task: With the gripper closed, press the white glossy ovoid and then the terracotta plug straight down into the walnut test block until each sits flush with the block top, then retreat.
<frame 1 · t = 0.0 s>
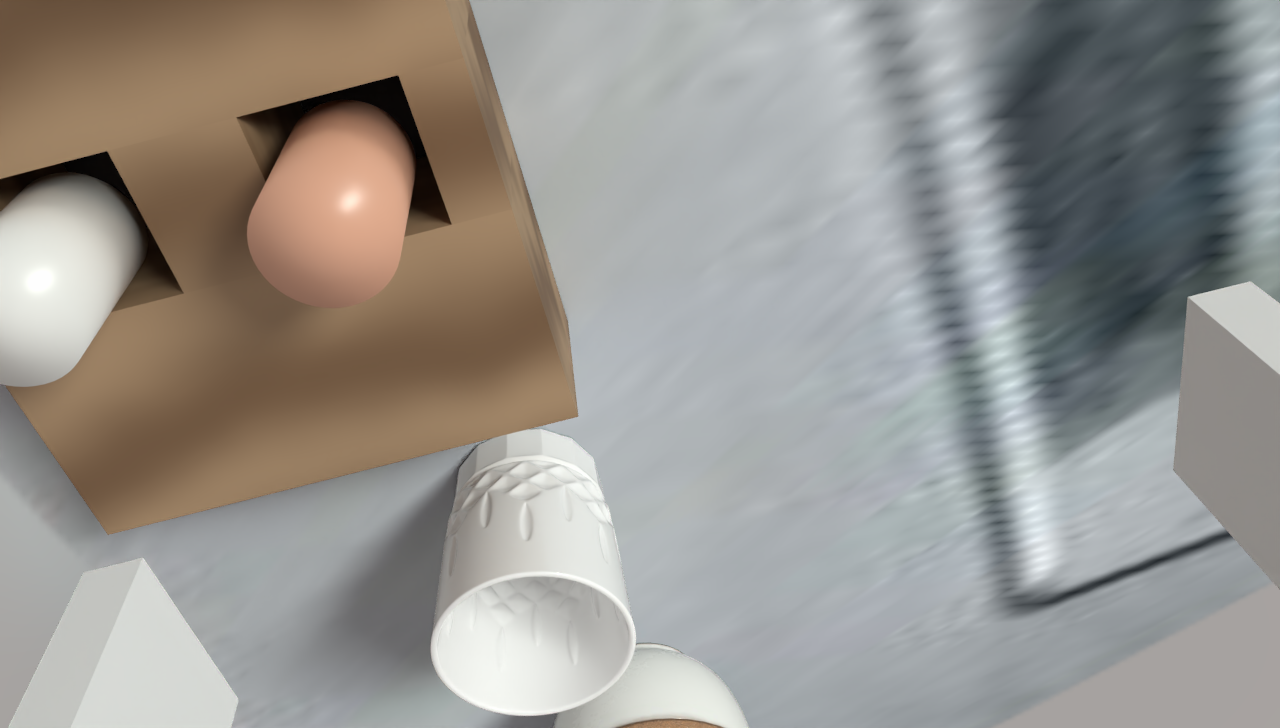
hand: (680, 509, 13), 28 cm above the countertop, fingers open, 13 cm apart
walnut block: (254, 132, 38), on the countertop
white cup: (528, 482, 48), on the countertop
terracotta plug: (339, 198, 30), point 9 cm above the countertop, slide at 0.0 cm
lidded jar: (639, 679, 56), on the countertop
white glossy ovoid: (46, 274, 30), point 9 cm above the countertop, slide at 0.0 cm
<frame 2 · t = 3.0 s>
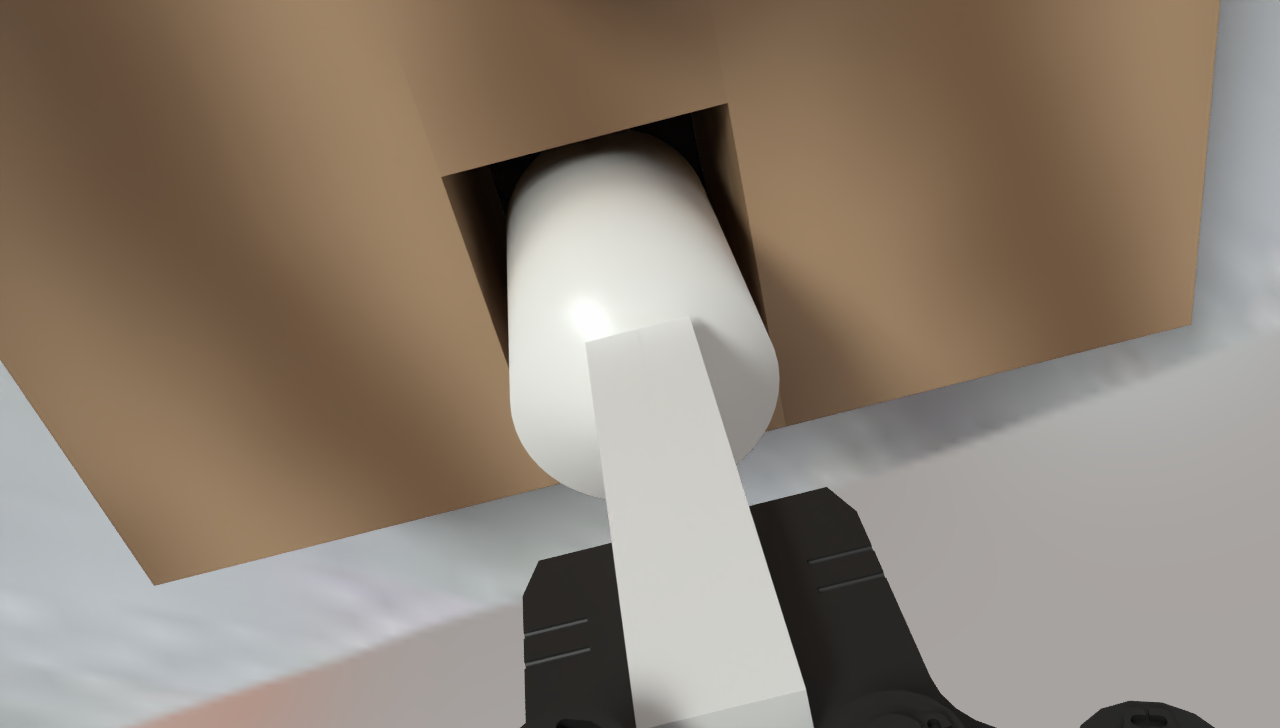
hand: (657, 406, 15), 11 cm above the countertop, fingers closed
white glossy ovoid: (624, 299, 18), point 8 cm above the countertop, slide at 0.8 cm, touching gripper
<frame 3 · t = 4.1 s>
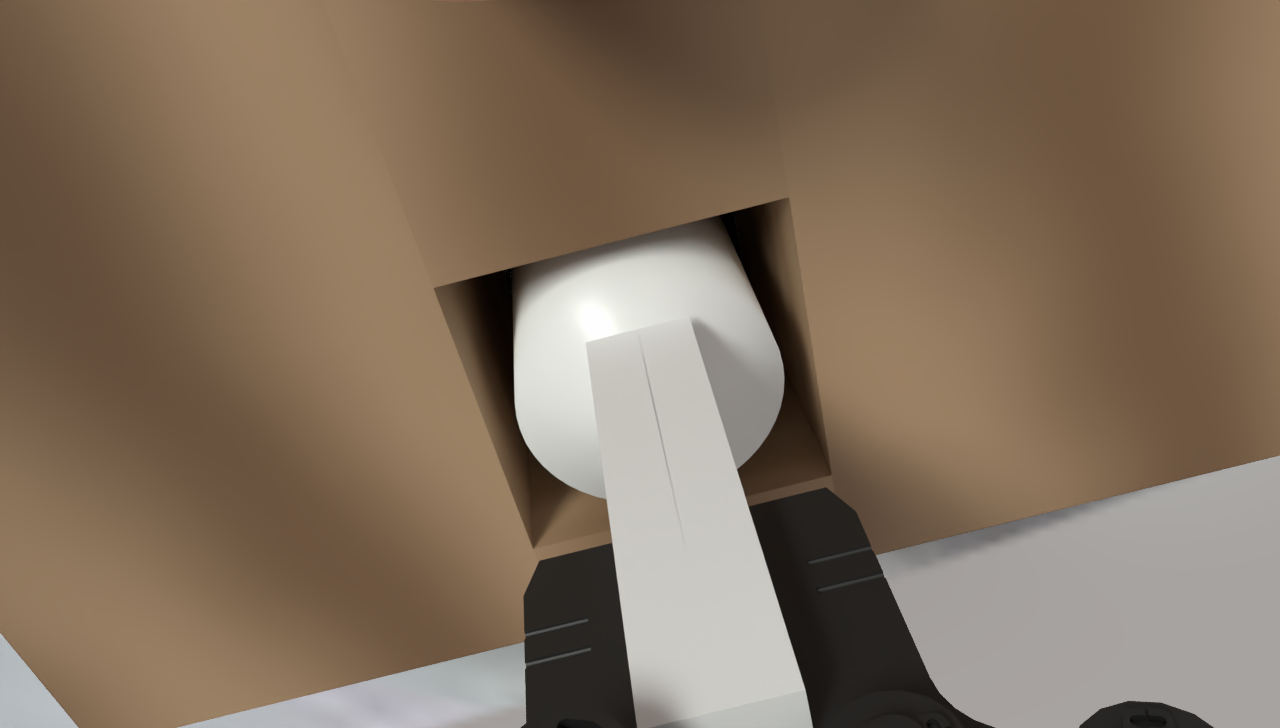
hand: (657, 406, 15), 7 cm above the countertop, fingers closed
white glossy ovoid: (629, 300, 18), point 4 cm above the countertop, slide at 4.8 cm, touching gripper
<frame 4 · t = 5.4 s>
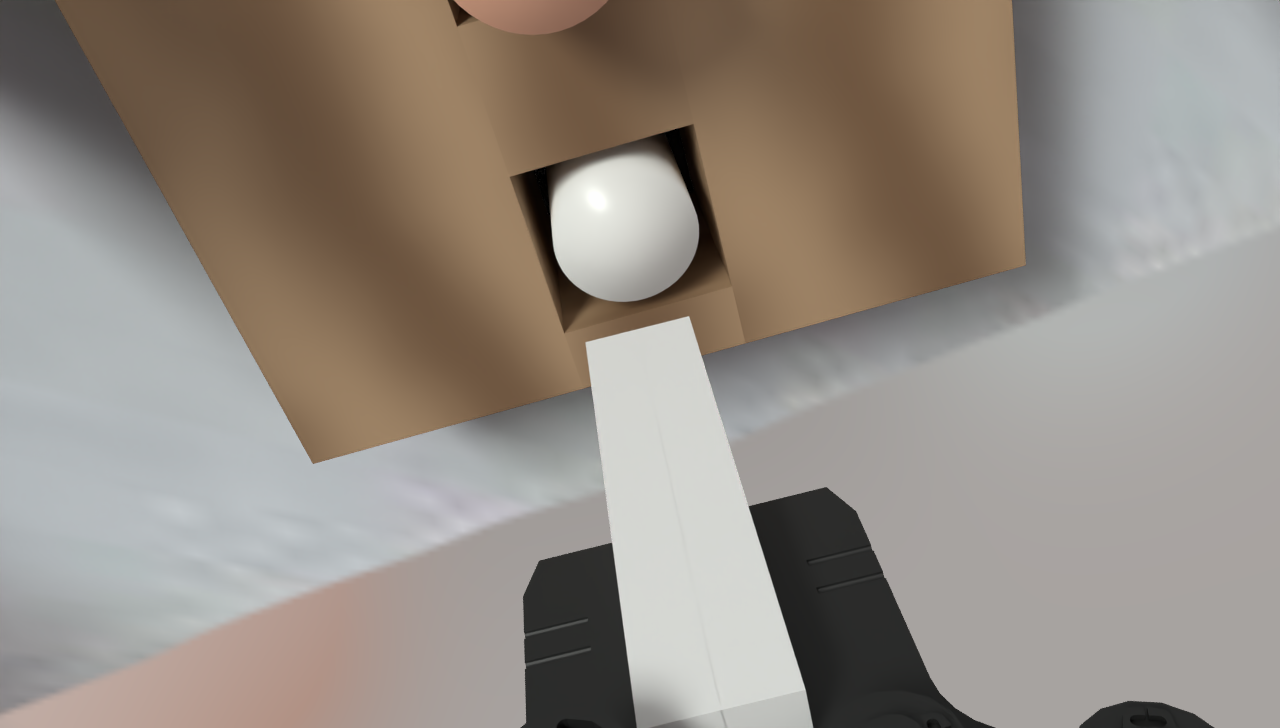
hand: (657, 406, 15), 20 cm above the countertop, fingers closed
walnut block: (565, 9, 32), on the countertop
white glossy ovoid: (616, 194, 31), point 4 cm above the countertop, slide at 4.8 cm
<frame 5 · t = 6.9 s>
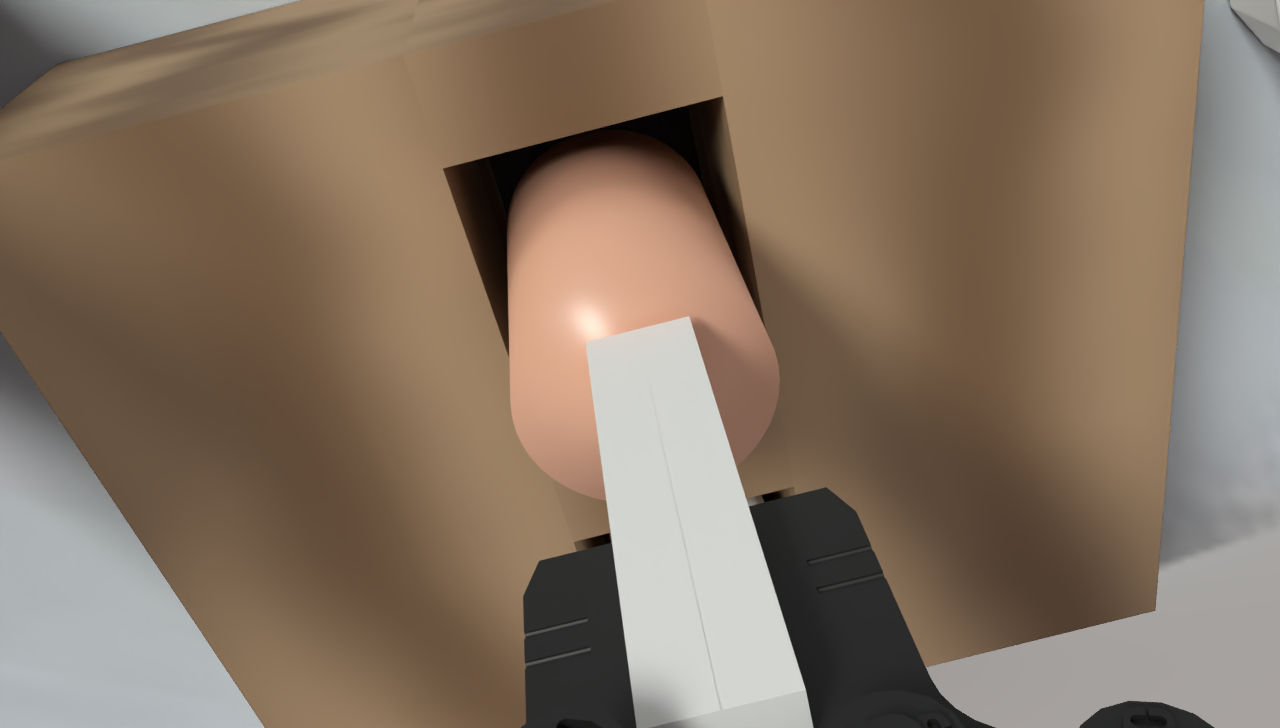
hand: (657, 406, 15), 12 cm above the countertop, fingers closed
walnut block: (628, 288, 27), on the countertop
terracotta plug: (625, 300, 18), point 9 cm above the countertop, slide at 0.3 cm, touching gripper
white glossy ovoid: (685, 514, 26), point 4 cm above the countertop, slide at 4.8 cm
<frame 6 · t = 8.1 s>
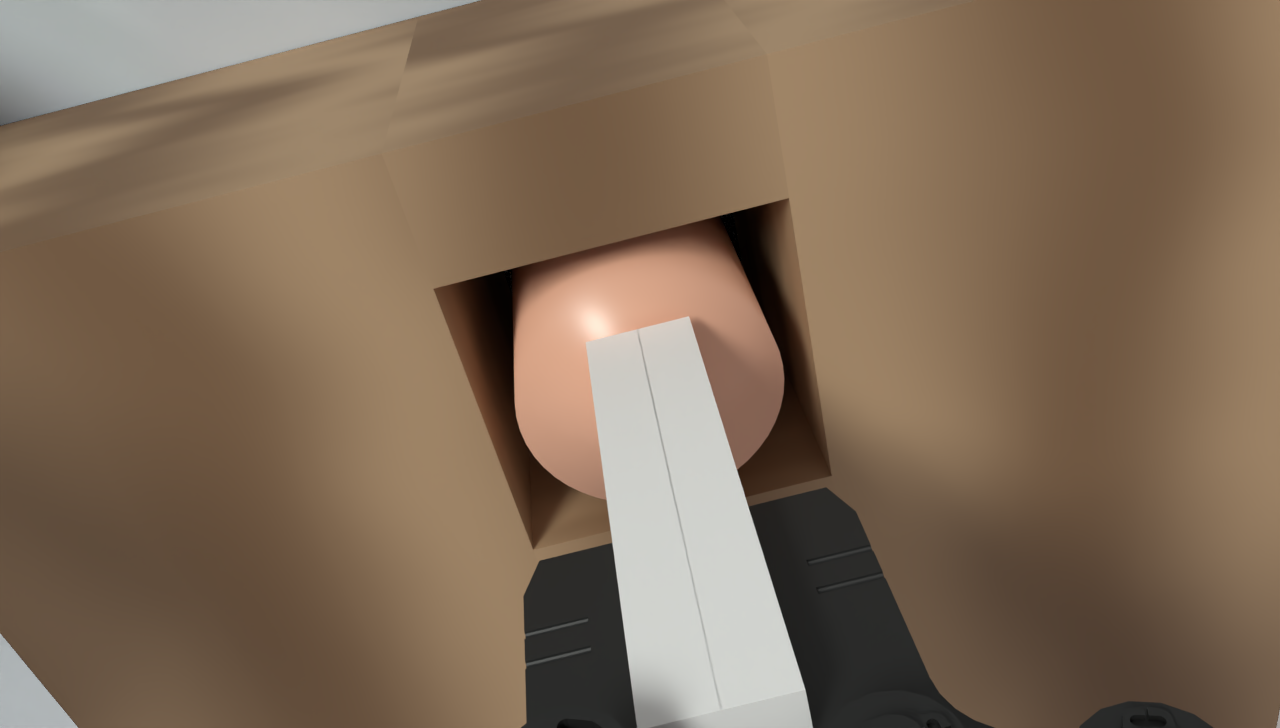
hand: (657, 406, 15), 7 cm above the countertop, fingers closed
walnut block: (653, 378, 24), on the countertop
terracotta plug: (629, 300, 18), point 4 cm above the countertop, slide at 4.8 cm, touching gripper
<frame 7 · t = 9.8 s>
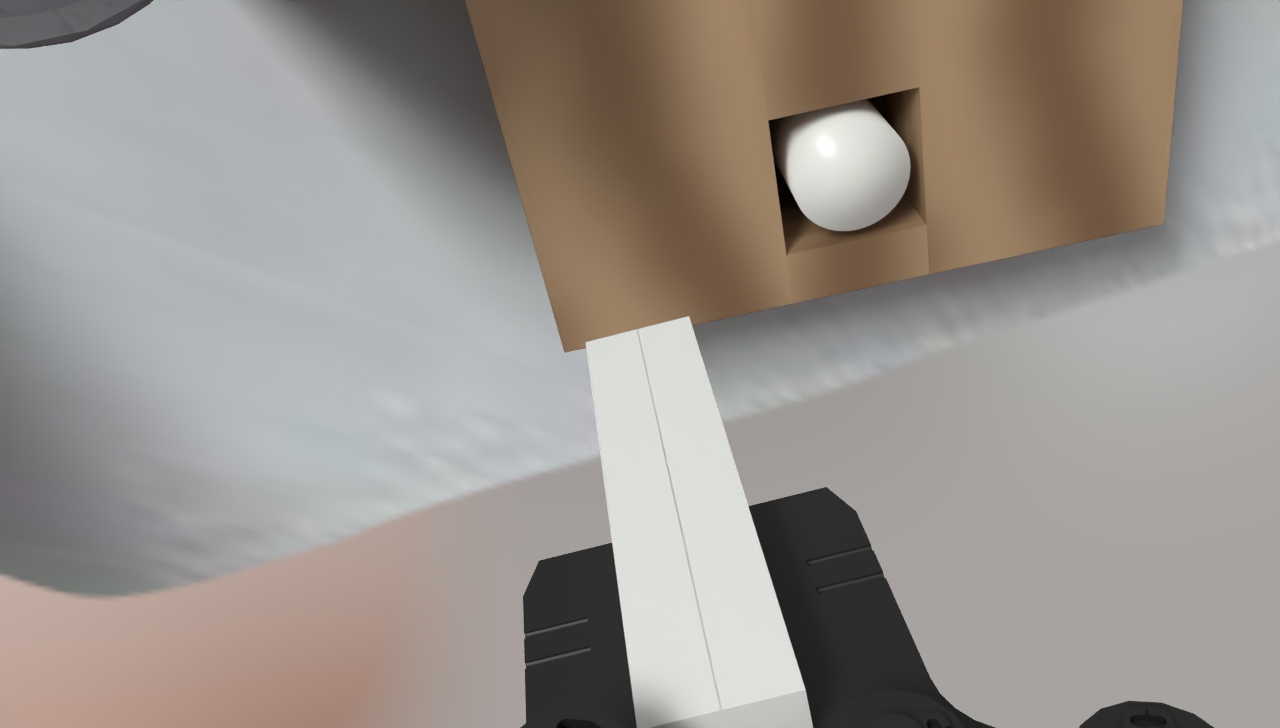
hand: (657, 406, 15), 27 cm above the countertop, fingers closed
white glossy ovoid: (830, 145, 37), point 4 cm above the countertop, slide at 4.8 cm
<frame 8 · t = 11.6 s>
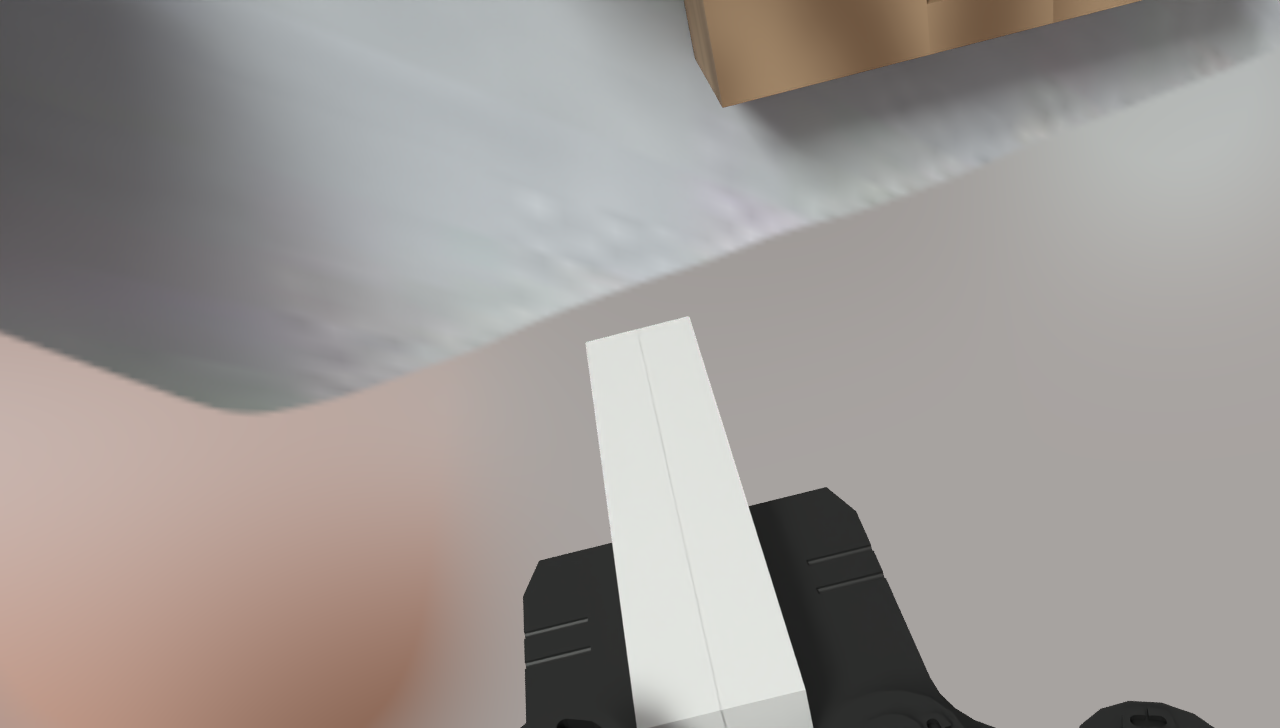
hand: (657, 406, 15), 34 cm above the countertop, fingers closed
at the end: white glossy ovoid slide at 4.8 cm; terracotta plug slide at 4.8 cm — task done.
